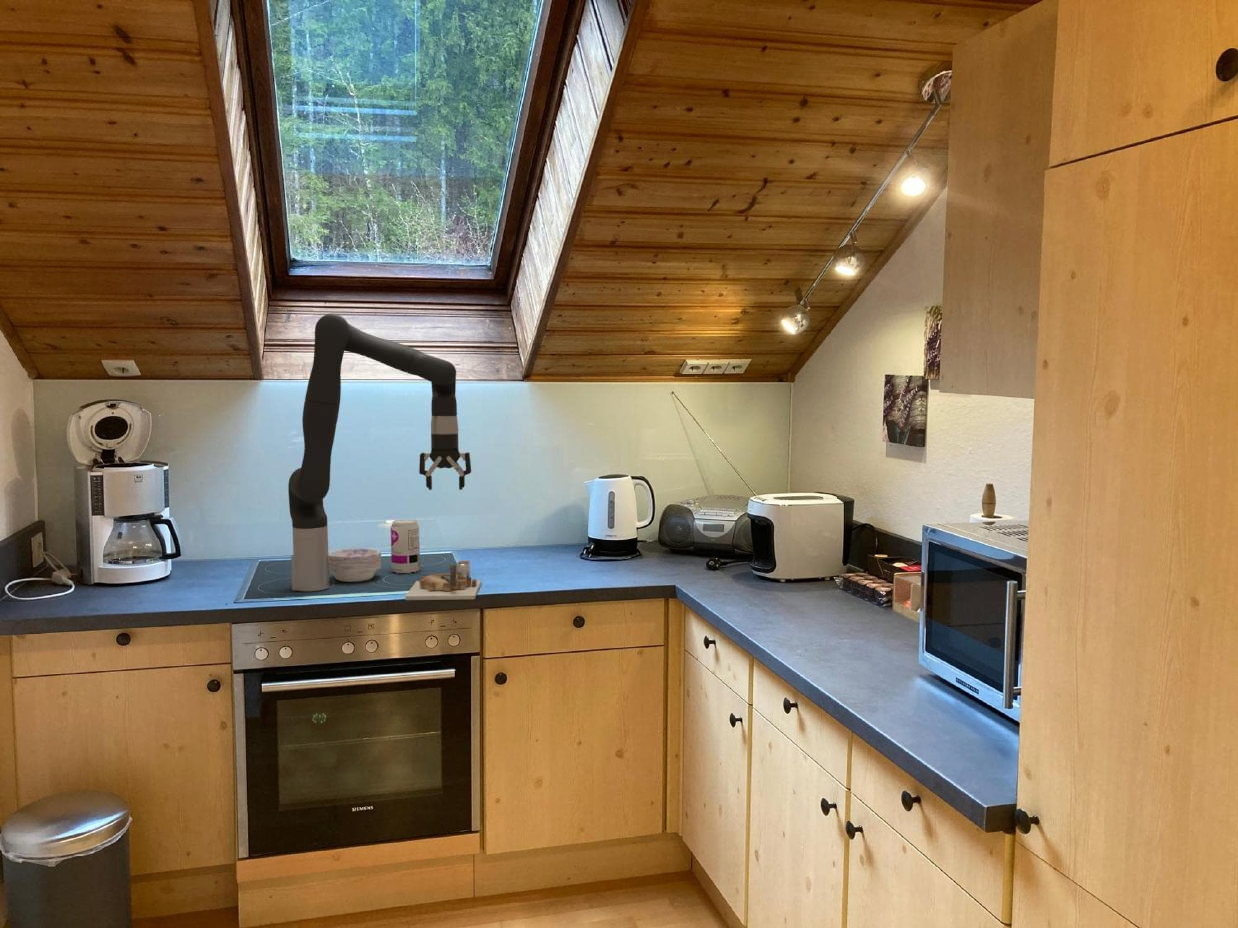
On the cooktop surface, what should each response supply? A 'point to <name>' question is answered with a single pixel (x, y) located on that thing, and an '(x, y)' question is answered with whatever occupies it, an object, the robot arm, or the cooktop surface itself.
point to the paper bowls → (354, 564)
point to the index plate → (443, 592)
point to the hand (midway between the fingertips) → (445, 489)
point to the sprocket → (444, 581)
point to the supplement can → (405, 546)
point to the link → (463, 570)
